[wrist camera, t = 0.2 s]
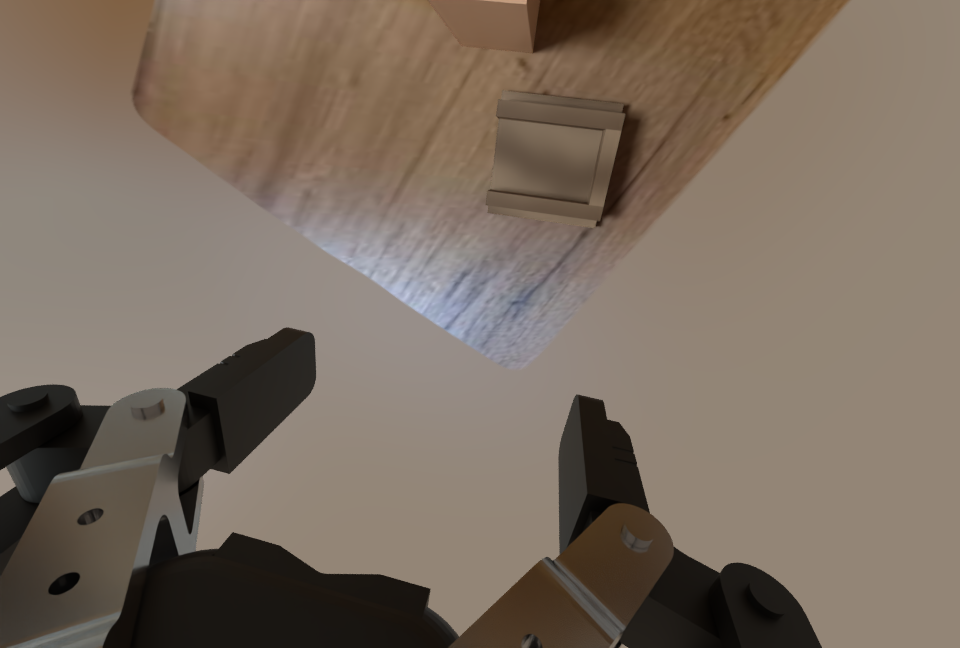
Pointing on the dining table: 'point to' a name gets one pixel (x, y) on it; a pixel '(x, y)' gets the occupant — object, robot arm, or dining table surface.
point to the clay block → (491, 22)
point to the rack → (553, 157)
